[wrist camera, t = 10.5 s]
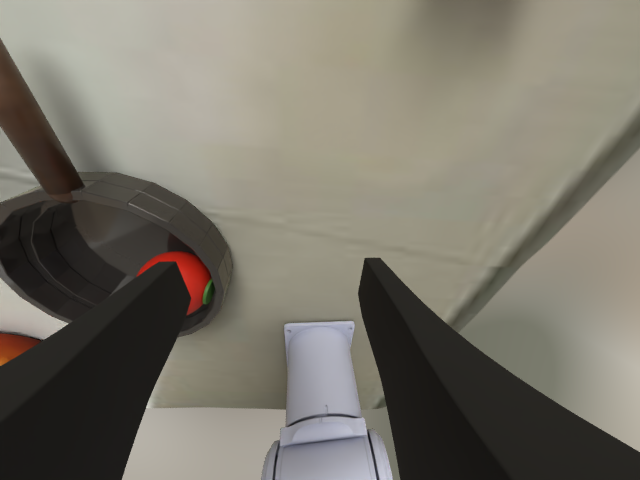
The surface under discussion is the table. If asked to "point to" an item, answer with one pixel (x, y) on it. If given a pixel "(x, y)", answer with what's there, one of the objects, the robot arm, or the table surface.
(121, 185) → the pan
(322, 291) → the table surface
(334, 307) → the table surface
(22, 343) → the fruit
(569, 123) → the table surface
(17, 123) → the pan handle
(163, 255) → the tomato
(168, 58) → the table surface
